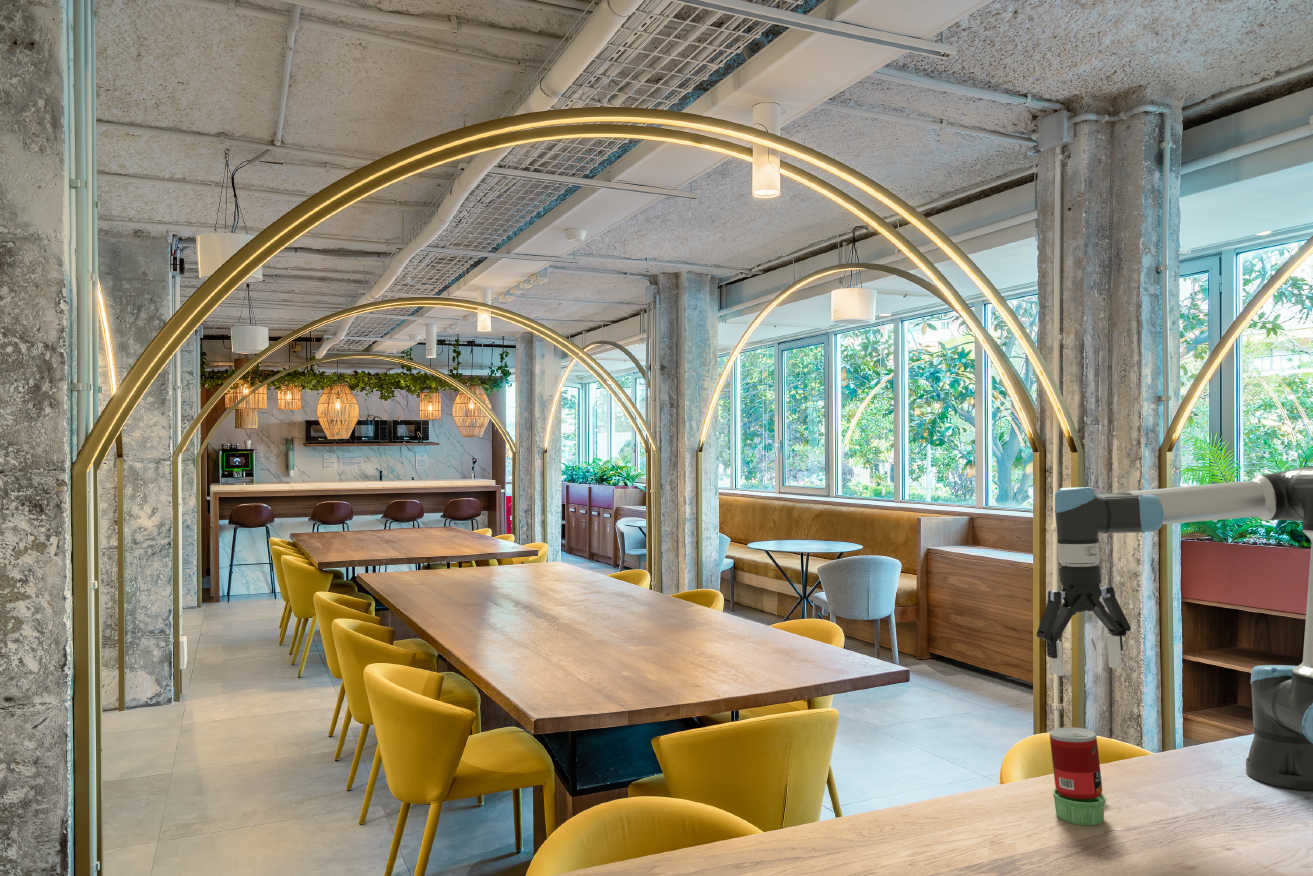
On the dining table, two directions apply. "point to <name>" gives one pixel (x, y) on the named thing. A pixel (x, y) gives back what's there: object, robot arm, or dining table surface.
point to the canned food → (1076, 762)
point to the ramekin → (1080, 809)
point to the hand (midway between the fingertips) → (1086, 671)
